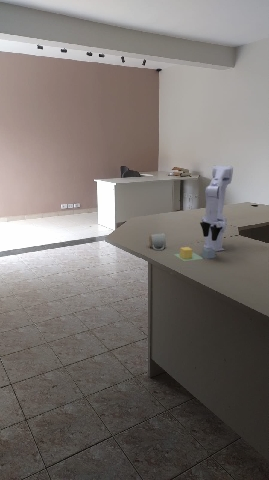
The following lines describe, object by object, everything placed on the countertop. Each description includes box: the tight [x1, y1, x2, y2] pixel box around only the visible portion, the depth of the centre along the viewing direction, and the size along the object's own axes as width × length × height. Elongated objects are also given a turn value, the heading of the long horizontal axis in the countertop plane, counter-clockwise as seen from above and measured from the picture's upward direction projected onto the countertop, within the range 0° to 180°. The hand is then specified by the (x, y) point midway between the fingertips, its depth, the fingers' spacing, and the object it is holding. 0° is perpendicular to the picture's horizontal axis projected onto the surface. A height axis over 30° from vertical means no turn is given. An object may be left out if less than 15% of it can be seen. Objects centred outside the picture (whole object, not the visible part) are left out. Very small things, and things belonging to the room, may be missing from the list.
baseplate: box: [173, 251, 204, 262], centre depth 182 cm, size 11×11×1 cm
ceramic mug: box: [148, 232, 167, 252], centre depth 194 cm, size 11×8×8 cm
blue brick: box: [201, 247, 217, 260], centre depth 181 cm, size 4×4×4 cm
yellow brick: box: [179, 246, 194, 259], centre depth 179 cm, size 4×4×4 cm
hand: (209, 238), depth 178 cm, fingers open, 7 cm apart
